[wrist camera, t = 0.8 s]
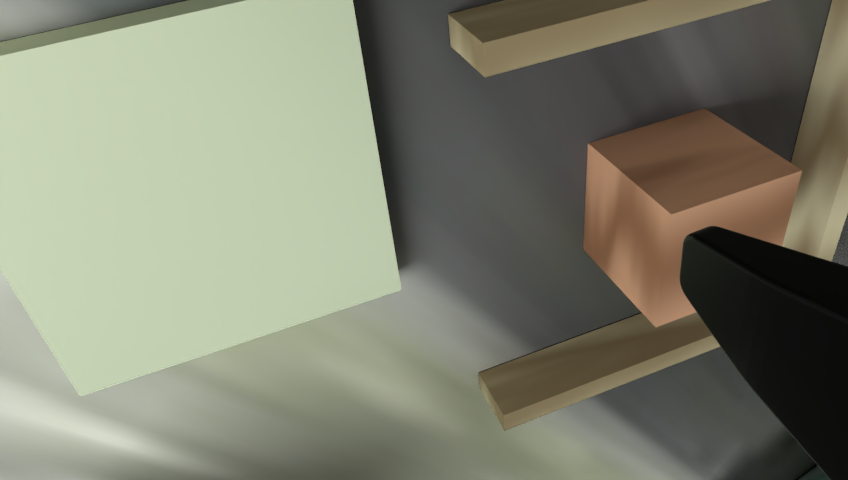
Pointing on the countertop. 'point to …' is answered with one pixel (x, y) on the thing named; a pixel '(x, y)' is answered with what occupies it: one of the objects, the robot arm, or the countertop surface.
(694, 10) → the open wooden frame
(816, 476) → the teal plate
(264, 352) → the countertop surface
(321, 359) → the countertop surface
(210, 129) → the pad
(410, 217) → the countertop surface
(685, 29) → the countertop surface
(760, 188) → the terracotta cube
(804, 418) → the robot arm
